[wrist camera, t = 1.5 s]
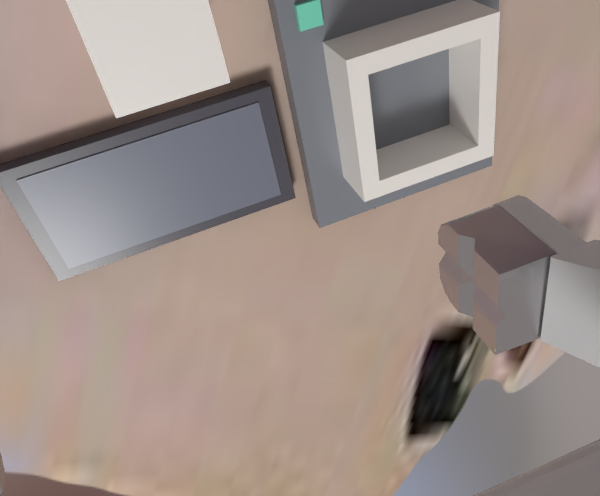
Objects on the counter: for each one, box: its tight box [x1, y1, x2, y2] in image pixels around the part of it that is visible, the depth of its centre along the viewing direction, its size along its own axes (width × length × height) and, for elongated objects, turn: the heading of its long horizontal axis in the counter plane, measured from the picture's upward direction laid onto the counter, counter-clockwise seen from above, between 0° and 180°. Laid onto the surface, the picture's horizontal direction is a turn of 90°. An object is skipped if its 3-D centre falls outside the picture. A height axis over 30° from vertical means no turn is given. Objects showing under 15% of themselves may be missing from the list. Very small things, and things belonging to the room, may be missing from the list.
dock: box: [268, 0, 500, 228], centre depth 31 cm, size 14×12×4 cm
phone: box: [0, 80, 295, 281], centre depth 30 cm, size 14×7×1 cm, turn 101°
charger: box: [66, 0, 231, 118], centre depth 23 cm, size 5×4×7 cm
